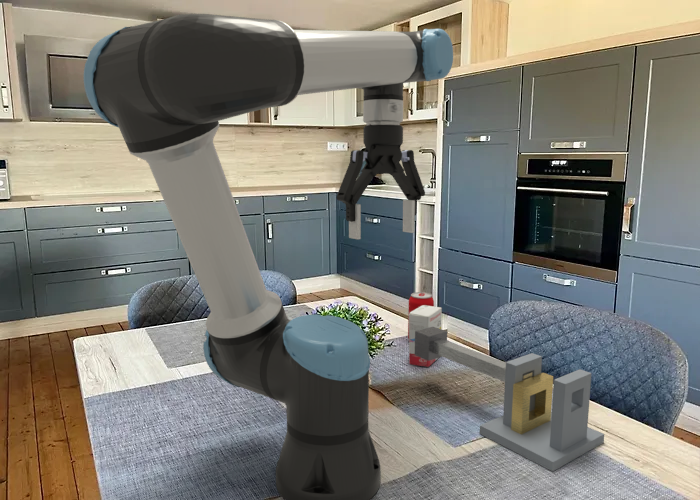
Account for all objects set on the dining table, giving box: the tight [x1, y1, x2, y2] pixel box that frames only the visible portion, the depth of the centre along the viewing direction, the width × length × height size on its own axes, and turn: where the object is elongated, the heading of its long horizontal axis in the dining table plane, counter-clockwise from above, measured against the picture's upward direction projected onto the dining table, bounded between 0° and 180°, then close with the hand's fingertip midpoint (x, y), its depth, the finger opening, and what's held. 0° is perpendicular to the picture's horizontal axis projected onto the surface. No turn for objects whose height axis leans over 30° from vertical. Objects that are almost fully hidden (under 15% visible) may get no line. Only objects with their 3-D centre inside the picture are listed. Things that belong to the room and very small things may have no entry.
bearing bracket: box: [479, 352, 605, 472], centre depth 91 cm, size 14×14×12 cm
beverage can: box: [407, 291, 435, 340], centre depth 138 cm, size 6×6×12 cm
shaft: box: [415, 327, 532, 383], centre depth 103 cm, size 5×25×5 cm, turn 36°
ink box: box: [408, 305, 443, 368], centre depth 126 cm, size 9×5×12 cm, turn 150°
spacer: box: [511, 372, 554, 434], centre depth 93 cm, size 8×2×8 cm, turn 126°
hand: (382, 235), depth 109 cm, fingers open, 13 cm apart
